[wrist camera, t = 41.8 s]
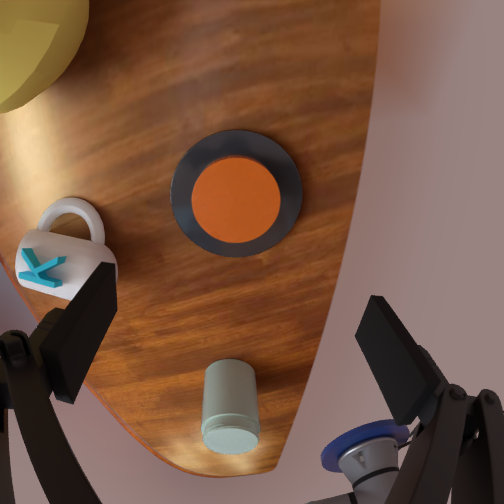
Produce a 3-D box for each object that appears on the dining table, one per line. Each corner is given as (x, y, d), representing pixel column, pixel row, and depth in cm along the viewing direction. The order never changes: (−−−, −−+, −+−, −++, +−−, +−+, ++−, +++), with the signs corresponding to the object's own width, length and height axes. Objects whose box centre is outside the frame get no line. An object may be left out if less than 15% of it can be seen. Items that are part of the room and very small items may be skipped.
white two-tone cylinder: (97, 320, 28) (4, 292, 26) (119, 304, 37) (40, 283, 35) (116, 200, 28) (20, 183, 26) (136, 210, 37) (54, 195, 35)
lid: (203, 147, 31) (200, 149, 29) (286, 165, 32) (290, 168, 30) (188, 226, 34) (185, 234, 32) (266, 241, 36) (268, 250, 33)
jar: (259, 361, 44) (267, 428, 33) (250, 394, 47) (255, 457, 36) (206, 356, 43) (202, 423, 32) (202, 390, 46) (198, 453, 35)
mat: (312, 142, 32) (314, 143, 31) (286, 260, 38) (287, 264, 37) (180, 121, 31) (178, 122, 30) (167, 245, 36) (165, 248, 35)
